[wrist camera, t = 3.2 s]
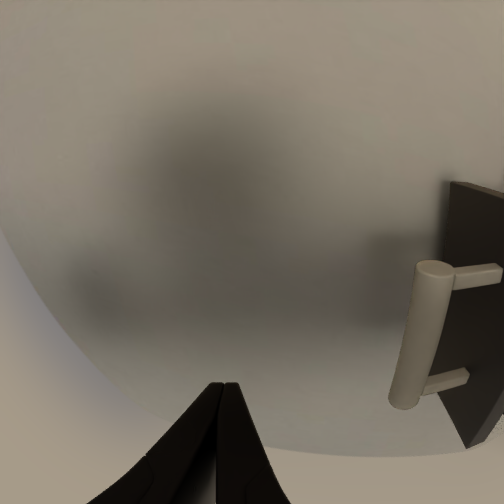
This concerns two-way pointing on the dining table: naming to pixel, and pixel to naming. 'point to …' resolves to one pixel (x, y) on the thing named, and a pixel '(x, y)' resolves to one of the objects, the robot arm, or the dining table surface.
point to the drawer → (459, 319)
